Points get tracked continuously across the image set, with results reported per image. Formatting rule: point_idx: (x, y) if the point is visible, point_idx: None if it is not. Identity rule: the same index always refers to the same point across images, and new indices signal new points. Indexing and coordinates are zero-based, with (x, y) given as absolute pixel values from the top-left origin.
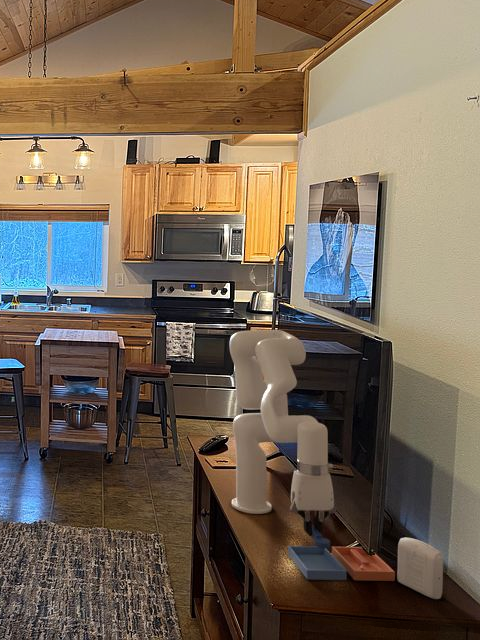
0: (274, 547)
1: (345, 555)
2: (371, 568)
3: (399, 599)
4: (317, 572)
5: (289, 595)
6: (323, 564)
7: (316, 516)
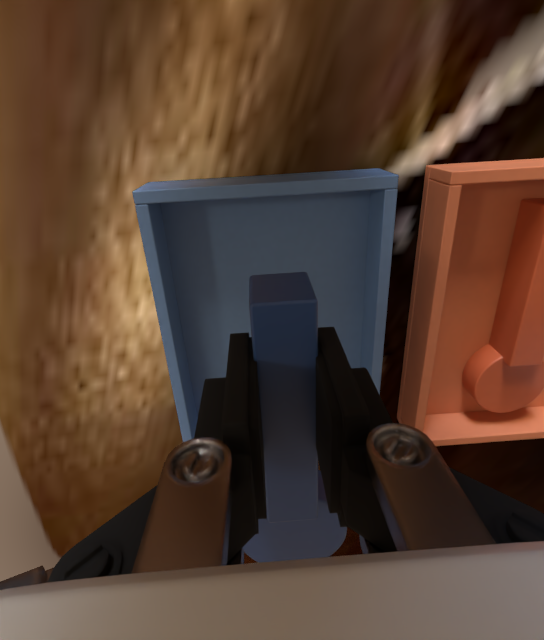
0: (65, 64)
1: (500, 190)
2: (517, 392)
3: None
4: None
5: None
6: None
7: (363, 492)
